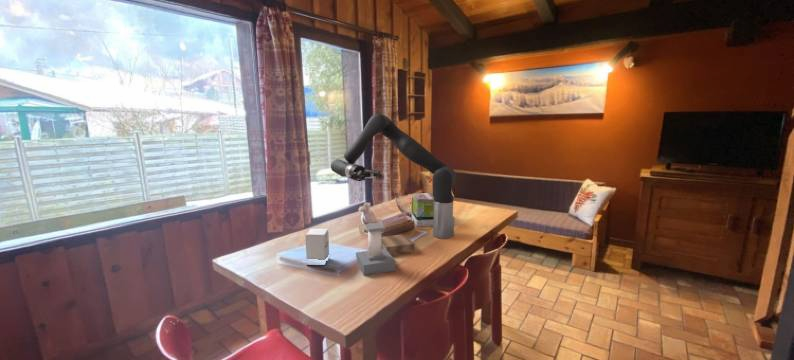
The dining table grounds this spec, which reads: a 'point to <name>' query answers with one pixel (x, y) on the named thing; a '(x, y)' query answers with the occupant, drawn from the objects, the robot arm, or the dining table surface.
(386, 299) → the dining table surface
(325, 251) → the supplement box
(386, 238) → the stand
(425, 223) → the tea box
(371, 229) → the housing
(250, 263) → the dining table surface
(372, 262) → the stand
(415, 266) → the dining table surface
